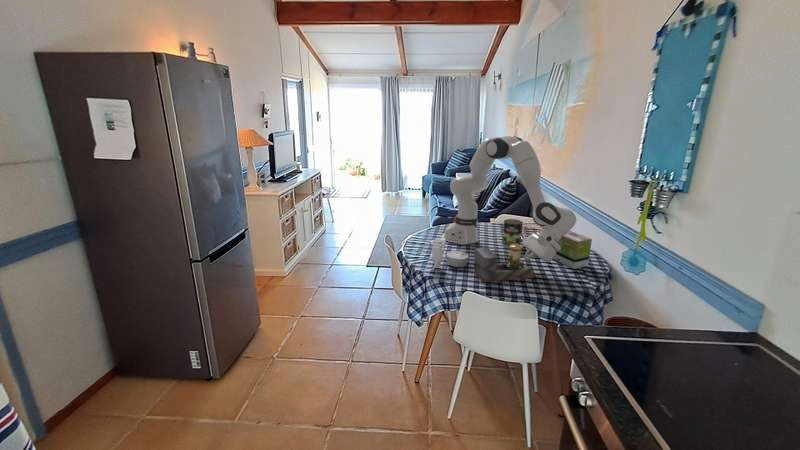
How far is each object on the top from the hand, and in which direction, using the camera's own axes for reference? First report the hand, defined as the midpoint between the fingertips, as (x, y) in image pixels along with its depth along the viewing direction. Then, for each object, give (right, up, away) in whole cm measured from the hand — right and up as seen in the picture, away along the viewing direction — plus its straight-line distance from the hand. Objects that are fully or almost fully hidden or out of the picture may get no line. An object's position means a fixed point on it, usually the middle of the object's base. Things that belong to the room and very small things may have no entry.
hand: (525, 259), depth 175 cm
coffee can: (+5, +4, +39) cm, 40 cm away
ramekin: (-30, -4, +14) cm, 33 cm away
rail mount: (-10, -8, +1) cm, 12 cm away
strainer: (-40, -5, +9) cm, 42 cm away
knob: (-5, -5, +1) cm, 7 cm away
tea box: (+27, -3, +15) cm, 31 cm away
